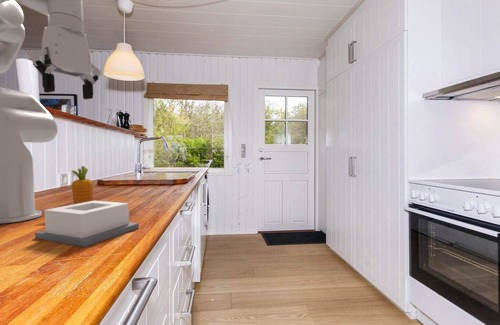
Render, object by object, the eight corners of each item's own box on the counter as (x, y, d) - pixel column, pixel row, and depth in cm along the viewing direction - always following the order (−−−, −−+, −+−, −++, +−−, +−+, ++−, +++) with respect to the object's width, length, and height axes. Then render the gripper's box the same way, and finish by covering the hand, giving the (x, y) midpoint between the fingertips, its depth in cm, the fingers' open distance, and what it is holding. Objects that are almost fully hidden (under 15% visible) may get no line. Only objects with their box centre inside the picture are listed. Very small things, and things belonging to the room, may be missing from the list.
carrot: (84, 222, 73) (82, 166, 72) (69, 221, 74) (66, 166, 73) (98, 218, 78) (96, 165, 77) (83, 217, 79) (81, 165, 78)
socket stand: (35, 238, 60) (33, 210, 60) (93, 222, 73) (92, 199, 73) (84, 247, 54) (83, 215, 53) (138, 228, 67) (138, 203, 66)
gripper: (89, 42, 78) (92, 102, 79) (17, 15, 62) (22, 90, 63) (107, 37, 75) (109, 99, 76) (36, 7, 59) (41, 86, 60)
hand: (70, 95), depth 69 cm, fingers open, 9 cm apart
